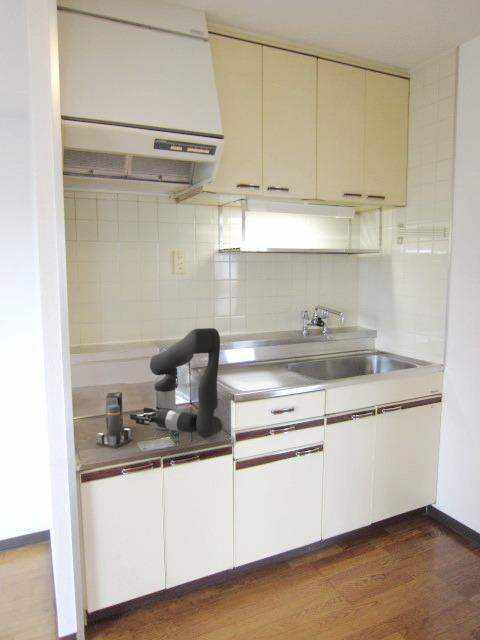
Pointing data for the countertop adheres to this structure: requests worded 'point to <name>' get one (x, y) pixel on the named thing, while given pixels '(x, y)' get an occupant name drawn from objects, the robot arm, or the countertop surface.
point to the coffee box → (114, 400)
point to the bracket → (114, 439)
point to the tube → (114, 421)
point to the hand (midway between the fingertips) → (137, 412)
